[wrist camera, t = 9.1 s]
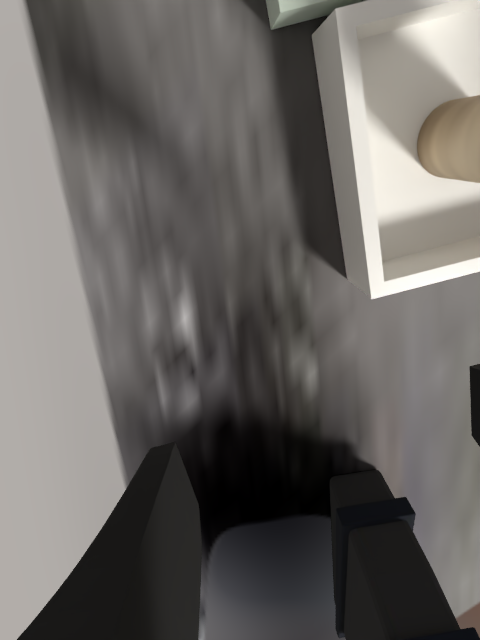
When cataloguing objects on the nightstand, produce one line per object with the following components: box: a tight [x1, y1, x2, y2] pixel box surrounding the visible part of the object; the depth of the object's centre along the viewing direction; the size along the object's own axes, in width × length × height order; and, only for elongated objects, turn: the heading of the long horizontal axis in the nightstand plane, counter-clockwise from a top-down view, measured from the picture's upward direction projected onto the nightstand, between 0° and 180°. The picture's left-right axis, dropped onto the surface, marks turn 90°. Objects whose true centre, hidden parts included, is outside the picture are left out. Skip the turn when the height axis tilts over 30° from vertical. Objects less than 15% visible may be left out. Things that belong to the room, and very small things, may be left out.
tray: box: [312, 0, 480, 299], centre depth 16 cm, size 10×10×3 cm
